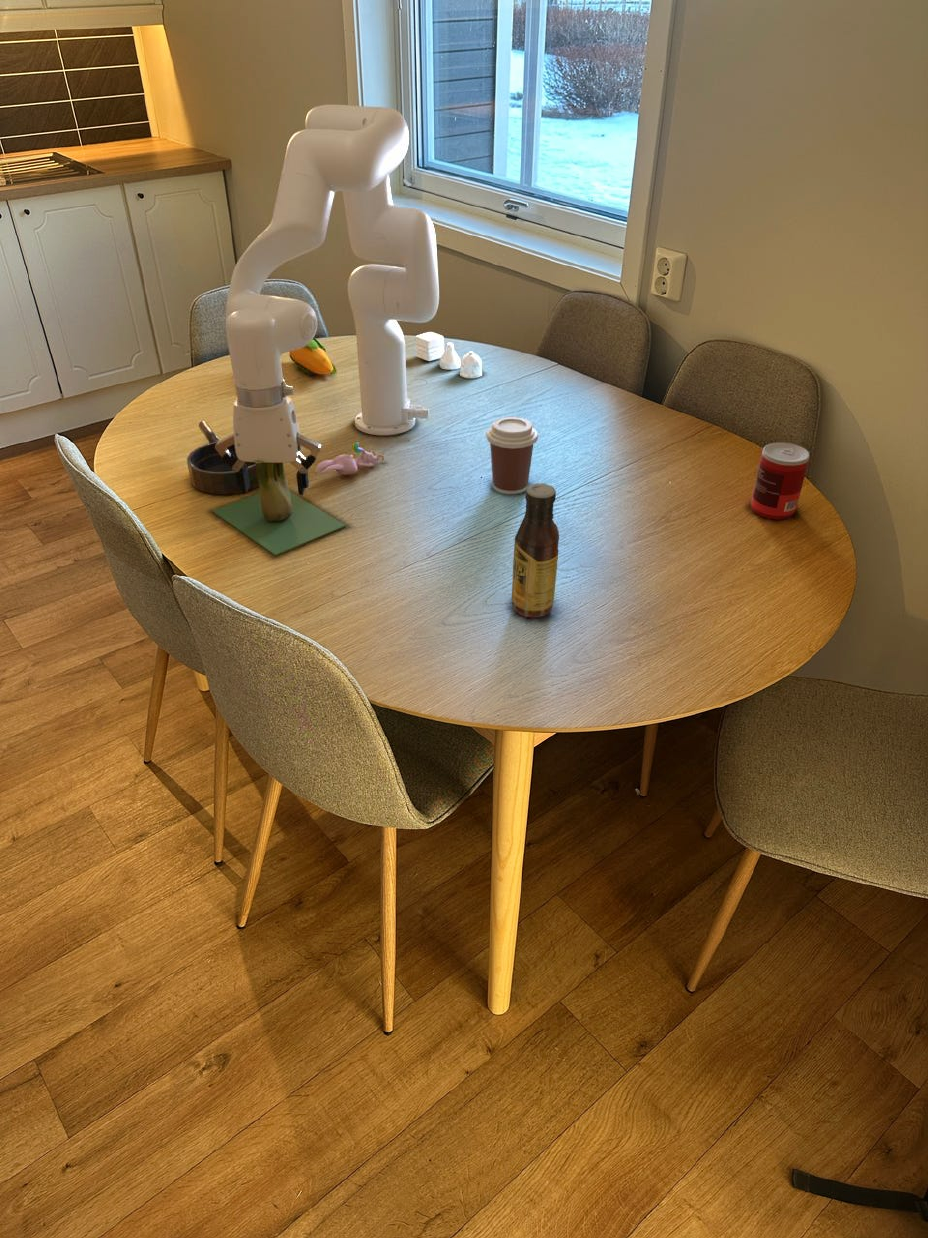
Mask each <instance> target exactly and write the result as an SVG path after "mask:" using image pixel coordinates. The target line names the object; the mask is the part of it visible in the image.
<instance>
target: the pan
mask: <svg viewBox="0 0 928 1238" xmlns="http://www.w3.org/2000/svg"><path fill="white" fill-rule="evenodd" d="M217 442H219V441H217ZM217 442H213V443H209V442H208V443H206V444H204V445H203V444H202V445H201V446H199V447H196V448H195V449H194V450H191V452H190V453H189V454H188V456H187V457H186V461H187V463H186V464H187V468H188V474H189V478H190V484H191V485H192V486H193V487H194V488H195V489H196V490H199V491H201V492H203V493H207V494H210V495H220V496H223V495H226V496H227V495H237V494H242V492H241V487H238V483H237V477H236V472H234V471H233V470H232V467H230V466H229V465H228V464H227V463H226V462H224V461H223V458H222V456H220V454H219V453H218V452H217V450H216V449H215V445H216V444H217ZM227 449H228V451H229V452H231V453H232V454H233V455H235V456H236V457H237V455H236V450H235V444H233V445H231V446H229V447H227ZM237 458H238V457H237ZM245 464H246V466H247V468H248V474H249V480H250V487H249V489H248V491H251V490H254V489H256V488H259V481H258V475H257V470H256V465H255V462H245ZM263 465H264V469H265V463H263ZM248 491H247V492H248Z"/></svg>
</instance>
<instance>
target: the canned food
mask: <svg viewBox="0 0 928 1238" xmlns="http://www.w3.org/2000/svg"><path fill="white" fill-rule="evenodd" d="M810 455H811V454H810V452H809V451H808V450H807V449H806V448H805V447H803V446H801V445H799V444H795V443H790V442H781V441H780V442H772V443H768V444H766V445H765V446H764V447H763V448H762V451H761V454H760V459H759V463H758V469H757V472H756V477H755V482H754V487H753V492H752V496H751V501H750V505H751V507H750V508H751V510H752V511H753V512H754V513H755V514H756V515H758V516H760V517H761V518H765V519H769V520H785V519H788V518H791V517H792V516H793V515H794V513H796V510H797V509H798V508H797V507H798V503H799V500H800V496H801V493H802V489H803V485H804V481H805V477H806V473H807V469H808V466H809V461H810Z"/></svg>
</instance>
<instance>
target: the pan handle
mask: <svg viewBox="0 0 928 1238" xmlns="http://www.w3.org/2000/svg"><path fill="white" fill-rule="evenodd" d="M198 428H199V430H200V431H201V433H202V434H203V435H204V437H205V438H206V440H207V441H208V444H209V443H213V442H217V441H221V440H220V439H219V438H218V436H217V435H216V433H215V431H213V429H212V428H211V427H210V425H209V424H208V422H206V421H204V420H202V421H199V423H198Z"/></svg>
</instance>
